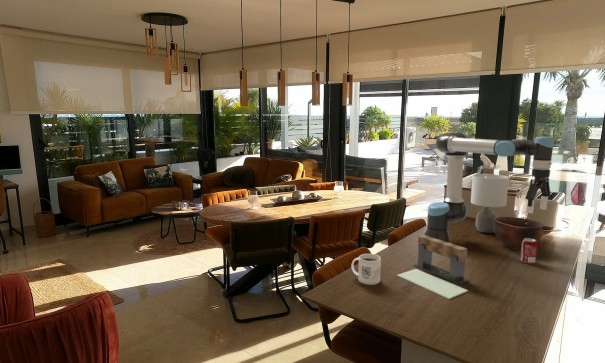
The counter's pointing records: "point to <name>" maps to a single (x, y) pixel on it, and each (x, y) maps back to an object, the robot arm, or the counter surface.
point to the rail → (443, 247)
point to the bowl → (516, 230)
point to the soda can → (528, 251)
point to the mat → (432, 283)
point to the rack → (455, 268)
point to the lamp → (488, 198)
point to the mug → (368, 268)
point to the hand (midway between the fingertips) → (536, 211)
